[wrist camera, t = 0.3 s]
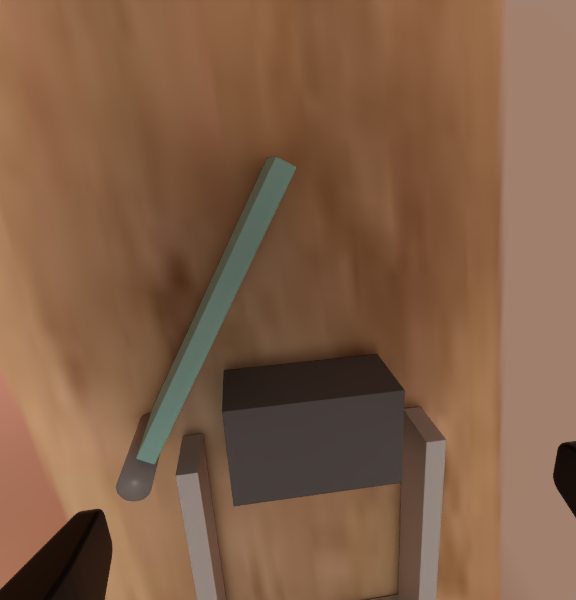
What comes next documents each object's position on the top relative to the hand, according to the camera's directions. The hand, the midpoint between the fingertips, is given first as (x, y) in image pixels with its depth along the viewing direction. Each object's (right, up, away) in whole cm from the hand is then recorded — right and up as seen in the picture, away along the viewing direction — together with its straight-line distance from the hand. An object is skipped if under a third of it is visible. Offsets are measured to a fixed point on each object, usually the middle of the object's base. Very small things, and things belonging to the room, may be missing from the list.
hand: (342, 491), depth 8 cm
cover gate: (-5, +4, +12) cm, 13 cm away
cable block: (0, -2, +15) cm, 15 cm away
